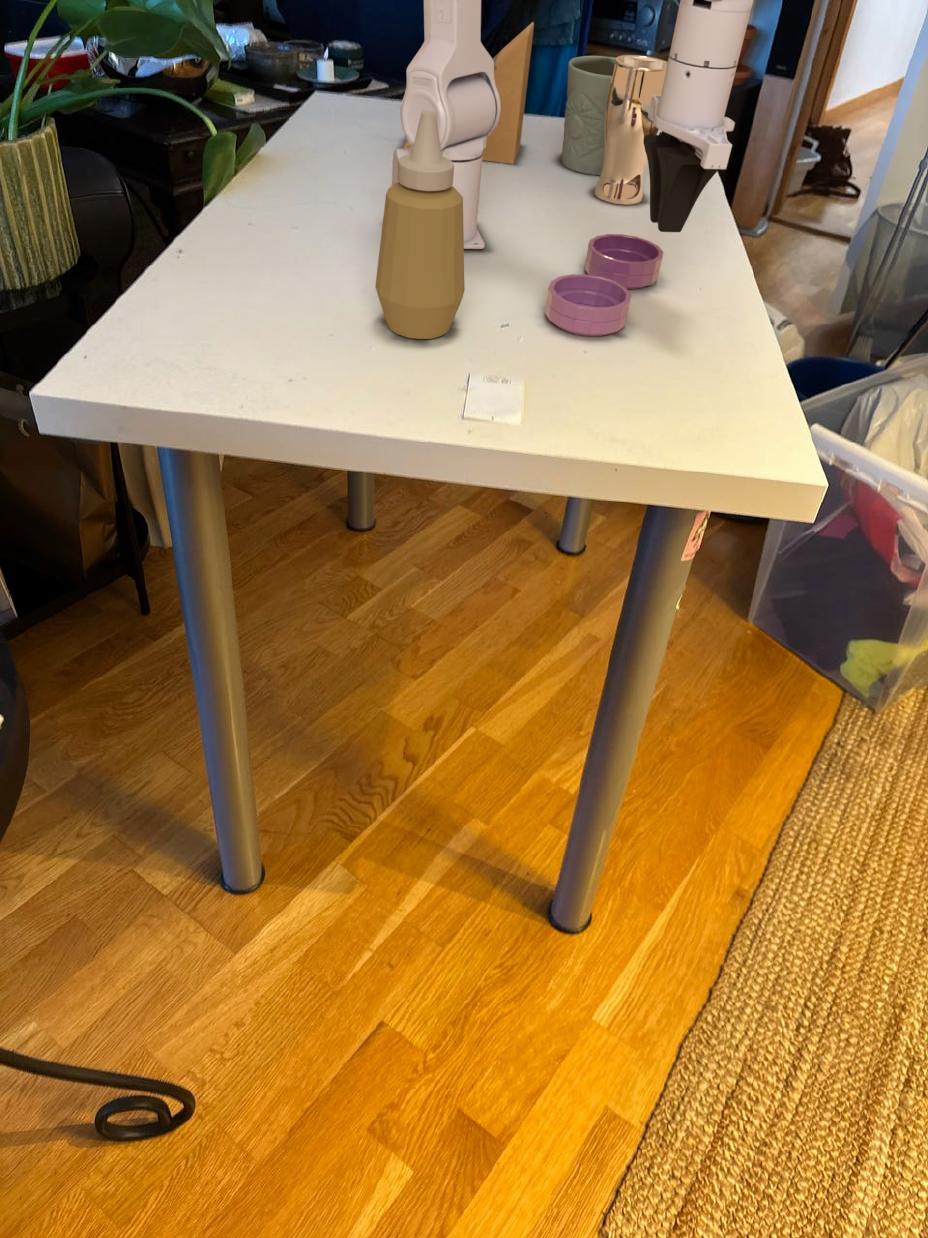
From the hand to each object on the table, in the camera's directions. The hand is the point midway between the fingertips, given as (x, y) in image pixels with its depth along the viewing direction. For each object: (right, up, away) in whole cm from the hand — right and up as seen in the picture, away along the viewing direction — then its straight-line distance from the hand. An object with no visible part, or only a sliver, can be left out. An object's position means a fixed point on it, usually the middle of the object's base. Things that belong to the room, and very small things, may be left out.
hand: (665, 226), depth 85 cm
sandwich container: (-19, +28, +40) cm, 53 cm away
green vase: (-1, +25, +39) cm, 46 cm away
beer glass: (+1, +17, +31) cm, 35 cm away
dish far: (-2, 0, +12) cm, 12 cm away
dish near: (-7, -8, +3) cm, 11 cm away
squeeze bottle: (-23, -10, -1) cm, 25 cm away
